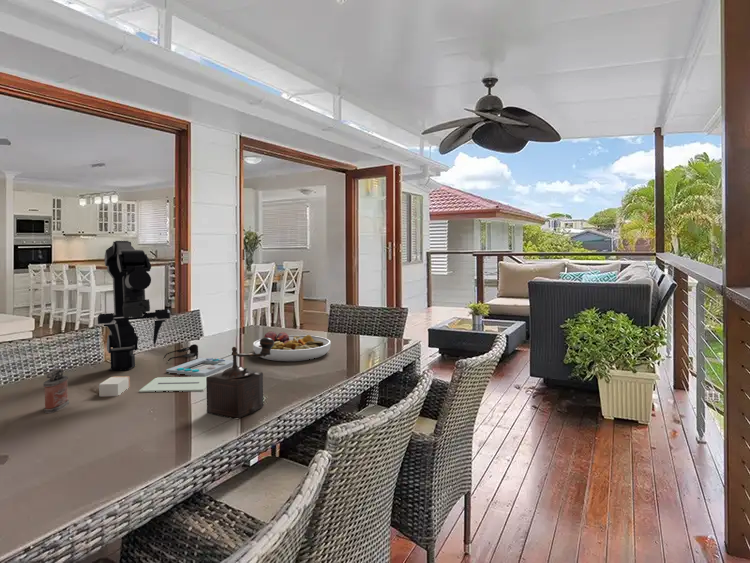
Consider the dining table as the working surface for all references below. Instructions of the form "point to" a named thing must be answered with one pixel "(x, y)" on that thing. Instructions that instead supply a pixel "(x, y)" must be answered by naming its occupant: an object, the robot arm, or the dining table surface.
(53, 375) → the lighter
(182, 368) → the electronic device
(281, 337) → the bowl
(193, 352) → the sunglasses
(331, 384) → the dining table surface
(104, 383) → the block
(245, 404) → the manual coffee grinder
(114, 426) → the dining table surface
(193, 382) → the mat
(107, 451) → the dining table surface
